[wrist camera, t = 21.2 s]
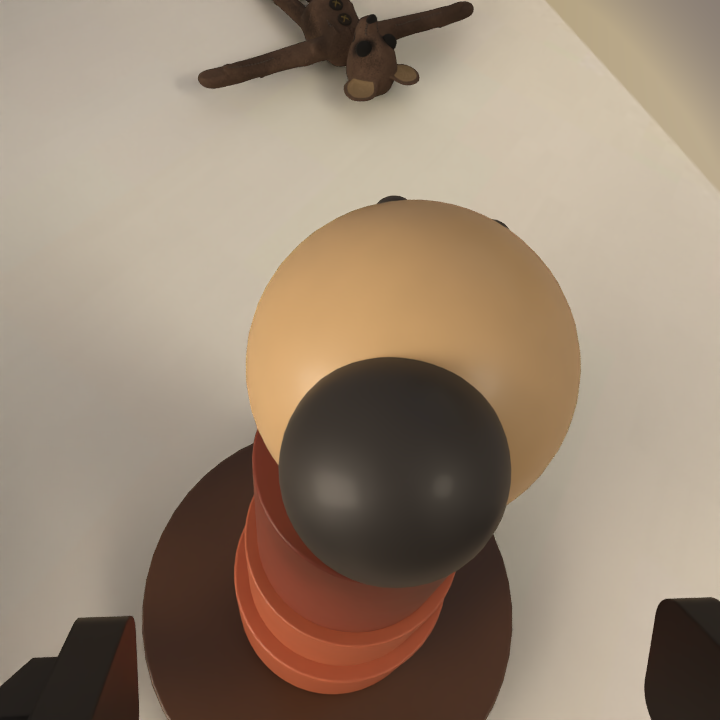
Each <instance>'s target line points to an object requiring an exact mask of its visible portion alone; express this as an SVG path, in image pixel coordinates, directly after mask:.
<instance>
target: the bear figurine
mask: <svg viewBox="0 0 720 720" xmlns="http://www.w3.org/2000/svg"><path fill="white" fill-rule="evenodd" d="M273 1H274V3H275V4H276V5H278V6H279V7H280V8H281V9H282V10H283V11H284V12H285V13H286V14H287V15H289V16H290V17H291V18H292V19H293V20H294V21H295V22H296V23H297V24H298V25H299V26H300V27H301V28H302V30H303V33H304V35H305V38H306V40H307V41H304V42H301V43H298V44H295V45H291V46H288V47H285V48H282V49H279V50H276V51H273V52H270V53H267V54H264V55H260V56H257V57H254V58H251V59H247V60H243V61H239V62H235V63H232V64H226V65H224V66H222V67H218V68H214V69H209V70H206V71H203V72H201V73H200V74H199V76H198V81H199V82H200V84H201V85H203V86H204V87H206V88H211V89H215V88H221V87H226V86H230V85H234V84H238V83H242V82H245V81H248V80H251V79H254V78H258V77H260V78H263V77H265V76H267V75H271V74H274V73H276V72H280V71H284V70H288V69H292V68H296V67H302V66H308V65H311V64H314V63H317V62H321V61H325V60H328V61H329V62H330V63H331V64H333V65H335V66H339V67H342V66H346V72H347V77H348V79H349V81H348V82H347V83H346V84H345V85H344V92H345V94H346V96H347V97H348V98H350V99H351V100H354V101H368V100H371V99H373V98H374V97H376V96H379V95H382V94H385V93H386V92H388V91H389V89H390V88H391V86H392V84H393V82H394V81H396V82H398V83H400V84H402V85H413V84H415V83H417V82H418V81H419V78H420V77H419V74H418V72H417V71H416V70H415V69H414V68H412V67H410V66H408V65H404V64H397V62H396V55H395V52H394V48H395V47H396V44H397V41H396V40H398V39H400V38H402V37H405V36H409V35H412V34H415V33H419V32H423V31H427V30H430V29H433V28H437V27H439V28H441V27H443V26H446V25H448V24H451V23H454V22H457V21H460V20H463V19H465V18H467V17H469V16H470V15H472V13H473V10H474V8H473V5H472V4H471V3H469V2H466V1H464V2H457V3H454V4H452V5H449V6H444V7H440V8H436V9H433V10H429V11H425V12H420V13H416V14H411V15H406V16H402V17H397V18H392V19H387V20H383V21H378V22H377V17H376V16H375V15H374V14H371V15H367V16H364V17H362V18H361V19H360V20H359V18H358V16H357V15H356V12H355V10H354V6H353V3H351V2H350V0H306V1H307V2H308V3H309V4H308V5H307V6H306V7H305V6H304V5H303V4H302V3H301V2H299V1H298V0H273Z"/></svg>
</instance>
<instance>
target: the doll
mask: <svg viewBox="0 0 720 720" xmlns="http://www.w3.org/2000/svg"><path fill="white" fill-rule="evenodd" d="M580 374H581V361H580V349H579V342H578V336H577V331H576V325H575V322H574V319H573V316H572V312H571V309H570V307H569V305H568V303H567V300H566V298H565V296H564V294H563V292H562V290H561V288H560V286H559V284H558V282H557V280H556V279H555V277H554V276H553V274H552V273H551V271H550V270H549V268H548V267H547V266H546V265H545V263H544V262H543V261H542V260H541V259H540V257H539V256H538V255H537V254H536V253H535V252H534V251H533V250H532V249H531V248H530V247H529V246H528V245H527V244H526V243H525V242H524V241H523V240H522V239H520V238H519V237H518V236H517V235H515V234H514V233H513V232H512V231H510V230H509V228H508V227H507V226H506V225H505V224H504V223H502V222H500V221H498V220H494V219H490V218H488V217H486V216H484V215H482V214H480V213H477V212H475V211H472V210H470V209H467V208H463V207H460V206H456V205H453V204H448V203H443V202H438V201H428V200H407V199H405V198H403V197H400V196H388V197H385V198H383V199H382V200H380V201H379V202H378V203H377V204H375V205H370V206H366V207H363V208H360V209H357V210H354V211H351V212H349V213H347V214H345V215H343V216H340V217H338V218H336V219H335V220H333V221H331V222H329V223H328V224H326V225H324V226H323V227H321V228H320V229H318V230H316V231H315V232H313V233H312V234H311V235H310V236H309V237H307V238H306V239H305V240H304V241H303V242H301V243H300V244H299V245H298V246H297V247H296V248H295V249H294V250H293V251H292V252H291V253H290V255H289V256H288V257H287V258H286V259H285V260H284V261H283V262H282V263H281V265H280V266H279V268H278V269H277V271H276V272H275V274H274V275H273V277H272V278H271V280H270V281H269V283H268V285H267V286H266V288H265V290H264V292H263V294H262V296H261V299H260V301H259V303H258V305H257V308H256V312H255V315H254V318H253V321H252V325H251V328H250V331H249V337H248V345H247V353H246V383H247V389H248V394H249V400H250V405H251V410H252V413H253V416H254V419H255V422H256V425H257V432H256V435H255V439H254V445H253V454H252V468H253V485H254V496H253V498H252V501H251V503H250V506H249V510H248V514H247V517H246V525H245V527H244V529H243V532H242V534H241V537H240V539H239V543H238V547H237V551H236V556H235V565H234V583H235V590H236V597H237V602H238V606H239V611H240V616H241V620H242V623H243V627H244V630H245V633H246V635H247V637H248V640H249V642H250V644H251V646H252V647H253V649H254V651H255V652H256V654H257V655H258V656H259V658H260V659H261V660H262V661H263V663H264V664H265V665H266V666H267V667H268V668H269V669H270V670H271V671H272V672H274V673H275V674H276V675H277V676H279V677H280V678H282V679H283V680H285V681H286V682H288V683H290V684H292V685H294V686H296V687H298V688H301V689H304V690H307V691H310V692H316V693H321V694H343V693H350V692H354V691H358V690H362V689H364V688H367V687H369V686H371V685H374V684H375V683H377V682H379V681H380V680H382V679H384V678H385V677H386V676H388V675H389V674H390V673H391V672H393V671H394V670H395V669H396V668H398V667H399V666H400V665H401V664H403V663H404V662H405V661H406V660H408V659H409V658H410V657H411V656H412V655H413V654H414V653H415V652H416V651H417V650H418V649H419V648H420V647H421V646H422V645H423V643H424V642H425V640H426V639H427V638H428V636H429V635H430V633H431V632H432V630H433V628H434V626H435V624H436V622H437V620H438V617H439V614H440V612H441V609H442V606H443V601H444V598H445V596H446V594H447V592H448V590H449V588H450V586H451V584H452V581H453V578H454V575H455V572H456V571H457V570H459V569H460V568H461V567H463V566H464V565H465V564H467V563H468V562H469V561H470V560H472V559H473V558H474V557H475V556H476V555H477V554H478V553H479V552H480V551H481V550H482V549H483V548H484V546H485V545H486V544H487V542H488V541H489V539H490V538H491V537H492V535H493V534H494V532H495V531H496V529H497V527H498V525H499V523H500V521H501V519H502V517H503V514H504V511H505V508H506V505H508V504H509V503H510V502H512V501H513V500H514V499H516V498H517V497H518V496H520V495H521V494H522V493H523V492H525V491H526V490H527V489H528V488H529V487H530V486H531V485H532V484H533V483H534V482H535V481H536V480H537V479H538V478H539V477H540V476H541V474H542V473H543V472H544V470H545V469H546V467H547V466H548V465H549V463H550V462H551V460H552V459H553V457H554V456H555V454H556V453H557V452H558V450H559V448H560V446H561V444H562V442H563V440H564V438H565V436H566V434H567V432H568V429H569V426H570V424H571V421H572V418H573V414H574V411H575V408H576V404H577V399H578V392H579V384H580Z"/></svg>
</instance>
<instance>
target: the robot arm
mask: <svg viewBox="0 0 720 720" xmlns="http://www.w3.org/2000/svg"><path fill="white" fill-rule="evenodd" d="M644 691H645V700H646V705H647V709H648V712H649V715H650V717H651V720H720V601H719V600H717V599H715V598H712V597H705V598H677V599H664V600H662V601H661V602H660V604H659V605H658V608H657V611H656V615H655V621H654V628H653V634H652V640H651V646H650V652H649V658H648V665H647V671H646V677H645V685H644ZM0 720H139V694H138V672H137V650H136V630H135V622H134V618H133V617H132V616H117V617H88V618H78V619H77V620H76V621H75V622H74V624H73V626H72V628H71V630H70V632H69V634H68V636H67V638H66V641H65V643H64V645H63V647H62V649H61V651H60V653H59V655H58V657H42V658H32V659H31V660H30V661H29V662H28V663H26V664H25V665H24V666H23V667H22V668H21V669H20V670H18V671H17V672H16V673H15V674H14V675H13V676H12V677H11V678H9V679H8V680H7V681H6V682H5V683H4V684H3V685H1V687H0Z"/></svg>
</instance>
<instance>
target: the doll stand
mask: <svg viewBox="0 0 720 720" xmlns="http://www.w3.org/2000/svg"><path fill="white" fill-rule="evenodd" d="M253 445H254V443H253V444H251V445H249V446H247V447H245V448H243V449H241V450H239V451H238V452H236V453H235V454H233V455H231V456H230V457H228V458H227V459H225V460H224V461H222V462H221V463H220V464H218V465H217V466H216V467H215V468H213V469H212V470H211V471H210V472H209V473H207V474H206V475H205V476H204V477H203V478H202V479H201V480H200V481H199V482H198V483H197V484H196V485H195V486H194V487H193V488H192V490H191V491H190V492H189V493H188V494H187V495H186V497H185V498H184V499H183V501H182V502H181V503H180V505H179V506H178V508H177V509H176V510H175V512H174V513H173V515H172V517H171V519H170V520H169V522H168V524H167V526H166V527H165V529H164V531H163V533H162V535H161V537H160V540H159V542H158V545H157V547H156V550H155V552H154V554H153V557H152V561H151V565H150V568H149V572H148V576H147V579H146V585H145V592H144V600H143V615H142V634H143V642H144V651H145V659H146V663H147V667H148V670H149V674H150V678H151V682H152V686H153V688H154V691H155V693H156V695H157V698H158V700H159V703H160V705H161V708H162V710H163V712H164V714H165V715H166V717H167V719H168V720H486V719H487V717H488V715H489V713H490V712H491V710H492V708H493V706H494V704H495V701H496V699H497V696H498V693H499V691H500V688H501V686H502V683H503V680H504V676H505V672H506V668H507V664H508V659H509V655H510V646H511V637H512V603H511V595H510V588H509V581H508V577H507V573H506V569H505V566H504V562H503V558H502V556H501V553H500V550H499V548H498V545H497V543H496V540H495V537H494V535H492V537H491V538H490V539H489V541H488V542H487V544H486V545H485V546H484V548H483V549H482V550H481V551H480V552H479V553H478V554H477V555H476V556H475V557H474V558H473V559H472V560H470V561H469V562H468V563H467V564H465V565H464V566H463V567H461V568H460V569H459V570H457V571H456V572H455V575H454V578H453V581H452V584H451V586H450V588H449V590H448V592H447V594H446V596H445V598H444V601H443V606H442V609H441V612H440V614H439V617H438V620H437V622H436V624H435V626H434V628H433V630H432V632H431V633H430V635H429V636H428V638H427V639H426V640H425V642H424V643H423V645H422V646H421V647H420V648H419V649H418V650H417V651H416V652H415V653H414V654H413V655H412V656H411V657H410V658H409V659H408V660H406V661H405V662H404V663H403V664H401V665H400V666H399V667H398V668H396V669H395V670H394V671H393V672H391V673H390V674H389V675H388V676H386V677H385V678H384V679H382V680H380V681H379V682H377V683H375V684H374V685H371V686H369V687H367V688H364V689H362V690H358V691H354V692H350V693H343V694H321V693H316V692H310V691H307V690H304V689H301V688H298V687H296V686H294V685H292V684H290V683H288V682H286V681H285V680H283V679H282V678H280V677H279V676H277V675H276V674H275V673H274V672H272V671H271V670H270V669H269V668H268V667H267V666H266V665H265V664H264V663H263V661H262V660H261V659H260V658H259V656H258V655H257V654H256V652H255V651H254V649H253V647H252V646H251V644H250V642H249V640H248V637H247V635H246V633H245V630H244V627H243V623H242V620H241V616H240V611H239V606H238V602H237V597H236V590H235V583H234V565H235V556H236V551H237V547H238V543H239V539H240V537H241V534H242V532H243V529H244V527H245V525H246V517H247V514H248V510H249V506H250V503H251V501H252V498H253V496H254V485H253V468H252V454H253Z"/></svg>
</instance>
